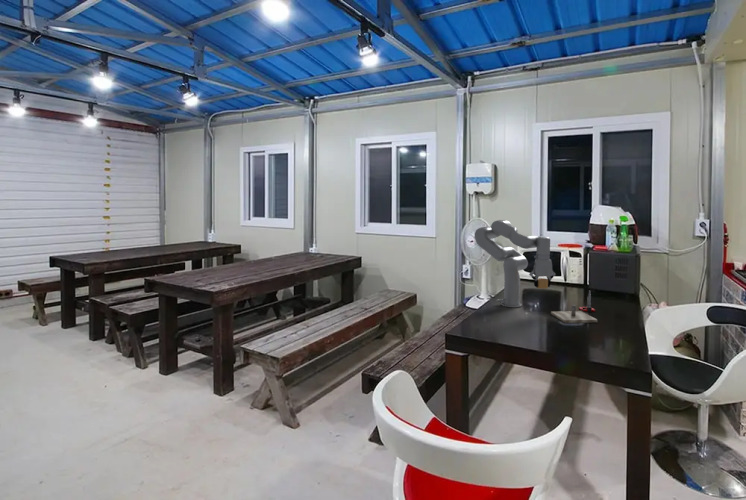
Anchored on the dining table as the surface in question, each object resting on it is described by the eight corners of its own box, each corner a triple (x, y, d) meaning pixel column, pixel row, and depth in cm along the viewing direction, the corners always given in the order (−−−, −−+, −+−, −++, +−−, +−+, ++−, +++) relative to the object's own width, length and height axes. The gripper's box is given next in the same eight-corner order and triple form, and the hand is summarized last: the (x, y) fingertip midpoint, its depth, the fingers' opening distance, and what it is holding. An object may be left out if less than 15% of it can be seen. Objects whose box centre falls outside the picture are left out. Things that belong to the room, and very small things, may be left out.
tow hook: (577, 308, 266) (582, 311, 256) (577, 288, 265) (582, 290, 255) (591, 308, 264) (596, 312, 255) (592, 288, 263) (597, 291, 254)
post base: (565, 322, 234) (565, 309, 233) (550, 314, 252) (551, 301, 251) (597, 322, 234) (598, 309, 233) (580, 313, 252) (581, 301, 251)
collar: (539, 288, 252) (539, 280, 251) (534, 286, 258) (534, 278, 258) (549, 288, 252) (550, 280, 252) (545, 286, 259) (545, 278, 258)
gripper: (531, 258, 249) (530, 288, 251) (560, 257, 250) (559, 287, 252) (526, 256, 257) (525, 285, 259) (554, 256, 257) (553, 285, 259)
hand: (542, 286), depth 255 cm, fingers closed on collar, 6 cm apart
